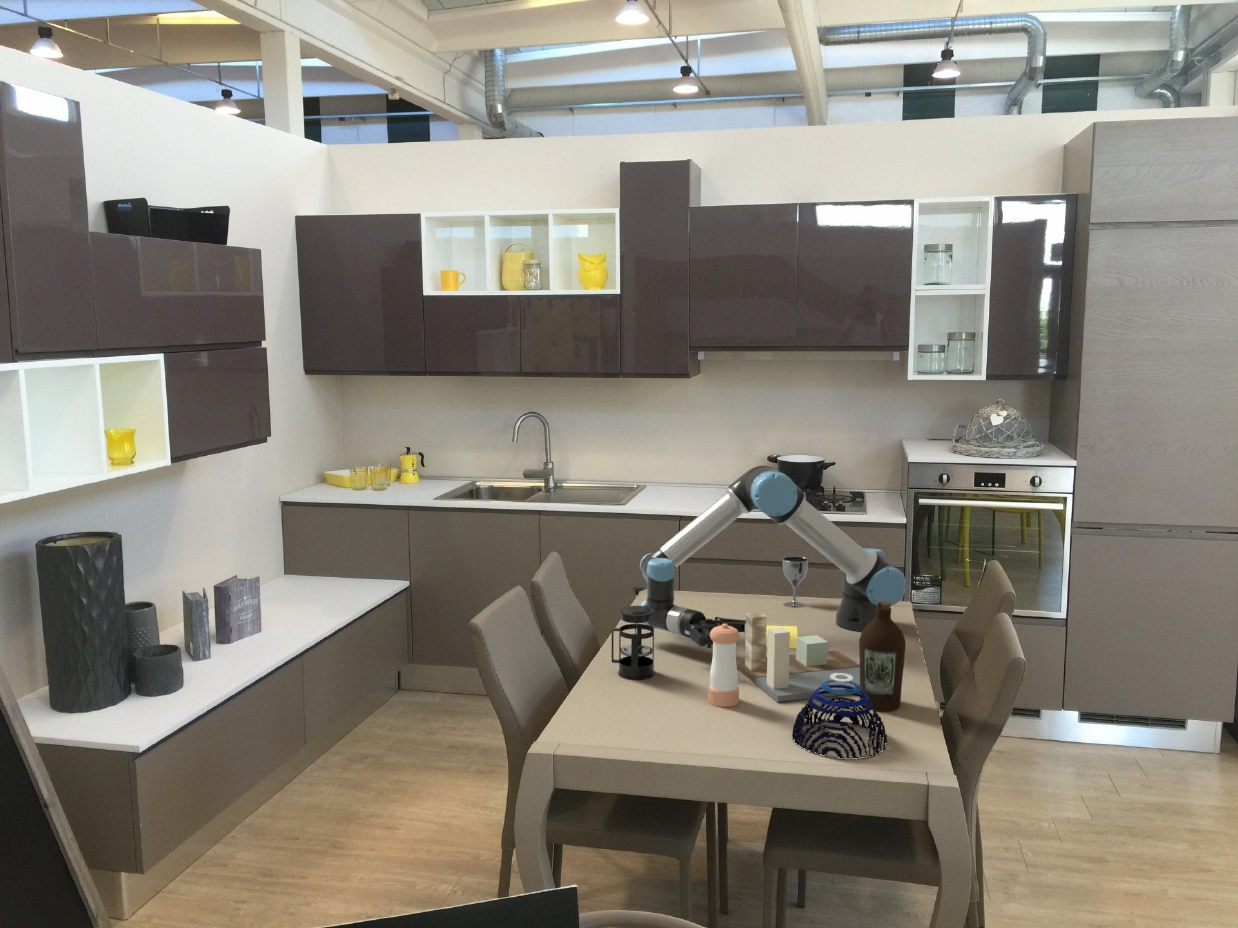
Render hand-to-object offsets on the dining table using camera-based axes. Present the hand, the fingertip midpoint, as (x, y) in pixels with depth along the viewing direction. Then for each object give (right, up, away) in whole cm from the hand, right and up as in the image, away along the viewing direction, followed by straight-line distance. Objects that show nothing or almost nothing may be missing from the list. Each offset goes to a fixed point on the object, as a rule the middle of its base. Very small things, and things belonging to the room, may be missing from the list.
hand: (749, 639), depth 260 cm
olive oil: (+28, -12, -20) cm, 37 cm away
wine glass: (+23, 0, +64) cm, 68 cm away
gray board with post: (+17, -10, -9) cm, 22 cm away
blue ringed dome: (+14, -15, -40) cm, 45 cm away
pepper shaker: (-9, -12, -18) cm, 23 cm away
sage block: (+17, -7, +5) cm, 19 cm away
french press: (-30, -9, 0) cm, 31 cm away
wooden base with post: (+13, -8, +4) cm, 16 cm away
